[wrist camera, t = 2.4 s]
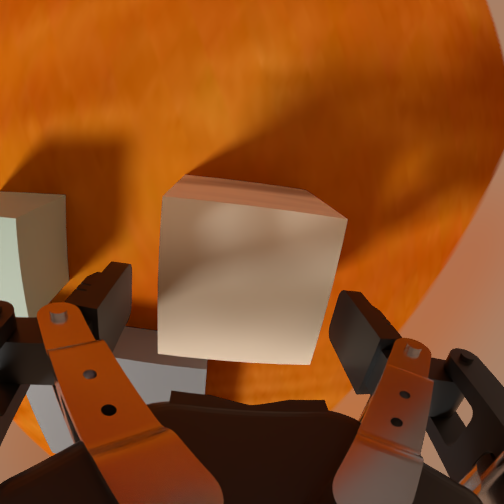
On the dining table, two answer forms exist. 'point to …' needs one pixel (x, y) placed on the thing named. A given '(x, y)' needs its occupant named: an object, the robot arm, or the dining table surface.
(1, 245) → the sage block
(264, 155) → the dining table surface
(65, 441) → the slate plinth
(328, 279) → the birch block
